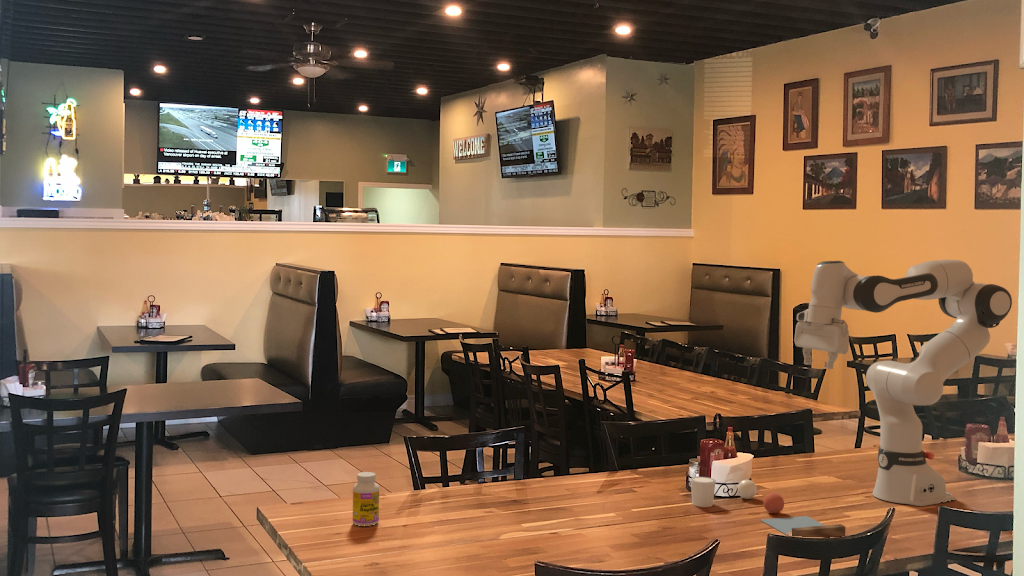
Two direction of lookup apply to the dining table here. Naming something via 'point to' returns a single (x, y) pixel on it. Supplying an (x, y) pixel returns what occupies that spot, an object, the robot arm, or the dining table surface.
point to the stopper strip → (820, 531)
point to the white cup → (702, 491)
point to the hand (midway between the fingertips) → (818, 366)
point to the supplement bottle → (366, 500)
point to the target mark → (791, 523)
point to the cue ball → (747, 489)
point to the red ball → (773, 503)
